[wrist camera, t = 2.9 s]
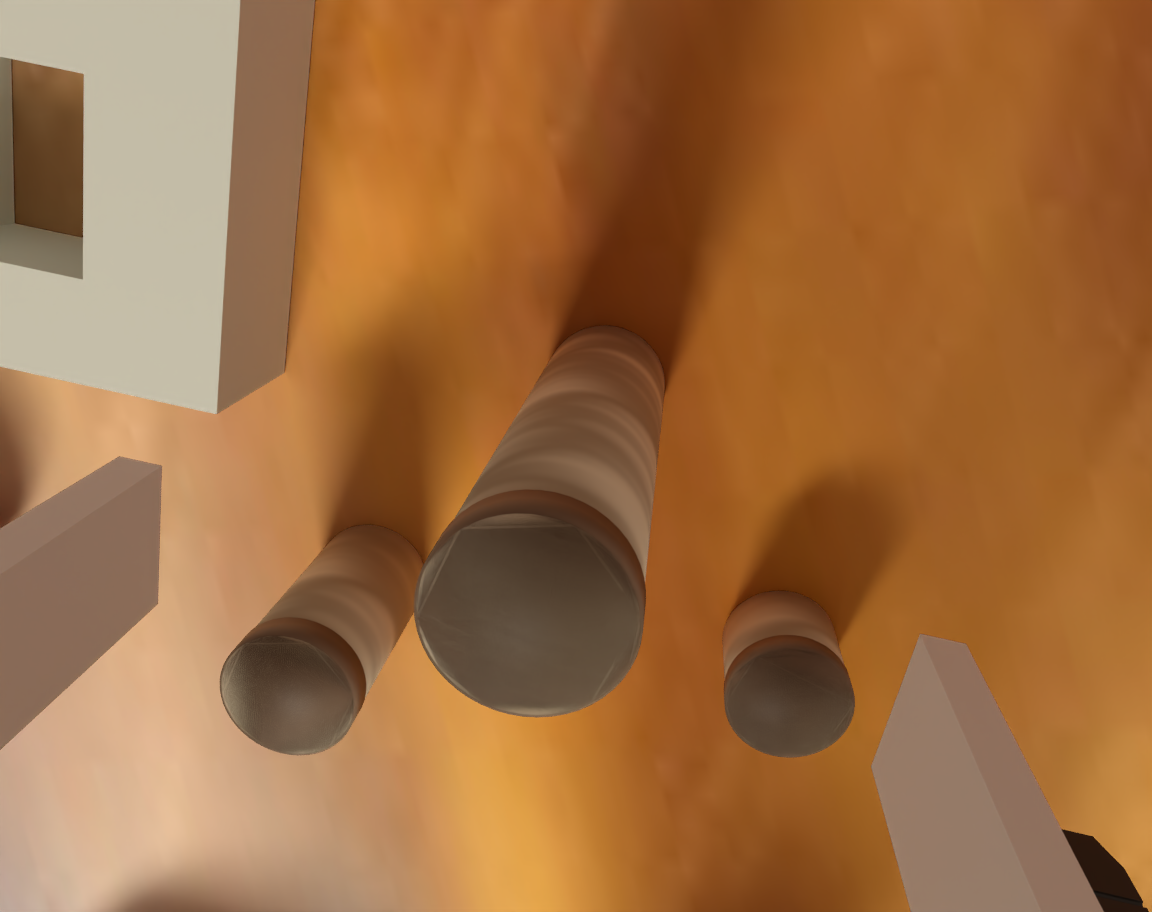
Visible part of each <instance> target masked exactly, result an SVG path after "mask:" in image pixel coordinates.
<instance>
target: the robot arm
mask: <svg viewBox="0 0 1152 912" xmlns="http://www.w3.org/2000/svg"><path fill="white" fill-rule="evenodd" d="M161 480H162V466H161V465H156V464H152V463H147V462H143V461H138V460H133V459H129V458H124V457H120V456H119V457H117V458H116V459H114V460H112V461H111V462H109V463H107V464H106V465H104V466H103V467H101V468H99V469H98V470H96V471H94V472H93V473H91V474H89V475H88V476H86V477H84V478H83V479H81V480H79V481H78V482H76V483H74V484H73V485H71V486H69V487H68V488H66V489H64V490H63V491H61V492H60V493H58V494H56V495H55V496H53V497H51V498H50V499H48V500H46V501H45V502H43V503H41V504H40V505H38V506H36V507H35V508H33V509H31V510H30V511H28V512H26V513H25V514H23V515H22V516H20V517H18V518H17V519H15V520H13V521H12V522H10V523H8V524H7V525H5V526H3V527H2V528H0V750H1V749H2V748H3V747H4V746H5V745H6V744H7V743H8V742H9V741H10V740H11V739H12V738H14V737H15V736H16V735H17V734H18V733H19V732H20V731H21V730H22V729H23V728H24V727H25V726H26V725H28V724H29V723H30V722H31V721H32V720H33V719H34V718H35V717H36V716H37V715H38V714H39V713H41V712H42V711H43V710H44V709H45V708H46V707H47V706H48V705H49V704H50V703H51V702H52V701H53V700H55V699H56V698H57V697H58V696H59V695H60V694H61V693H62V692H63V691H64V690H65V689H66V688H68V687H69V686H70V685H71V684H72V683H73V682H74V681H75V680H76V679H77V678H78V677H79V676H81V675H82V674H83V673H84V672H85V671H86V670H87V669H88V668H89V667H90V666H91V665H92V664H93V663H95V662H96V661H97V660H98V659H99V658H100V657H101V656H102V655H103V654H104V653H105V652H106V651H108V650H109V649H110V648H111V647H112V646H113V645H114V644H115V643H116V642H117V641H118V640H119V639H120V638H122V637H123V636H124V635H125V634H126V633H127V632H128V631H129V630H130V629H131V628H132V627H133V626H135V625H136V624H137V623H138V622H139V621H140V620H141V619H142V618H143V617H144V616H145V615H146V614H147V613H149V612H150V611H151V610H152V609H153V608H154V607H155V606H156V605H157V604H158V582H159V548H160V514H161ZM871 768H872V771H873V775H874V779H875V782H876V786H877V790H878V793H879V797H880V801H881V804H882V808H883V812H884V815H885V819H886V823H887V826H888V830H889V834H890V837H891V841H892V845H893V848H894V852H895V856H896V859H897V863H898V866H899V870H900V874H901V877H902V881H903V885H904V888H905V892H906V896H907V899H908V903H909V907H910V910H911V912H1149V911H1148V909H1147V908H1144V907H1143V905H1142V903H1143V901H1142V899H1141V897H1140V895H1139V894H1138V892H1137V890H1136V888H1135V887H1134V885H1133V883H1132V881H1131V880H1130V878H1129V876H1128V874H1127V873H1126V871H1125V869H1124V868H1123V867H1122V866H1121V865H1120V864H1119V863H1118V862H1117V861H1116V860H1115V859H1114V858H1113V857H1112V856H1111V855H1110V854H1109V853H1108V852H1107V851H1106V850H1105V849H1104V848H1103V847H1102V846H1101V844H1100V843H1099V842H1098V841H1097V840H1096V839H1095V838H1094V837H1093V836H1088V835H1084V834H1080V833H1075V832H1071V831H1067V830H1062V829H1061V828H1060V826H1059V824H1058V822H1057V820H1056V818H1055V816H1054V814H1053V812H1052V810H1051V808H1050V806H1049V804H1048V802H1047V800H1046V798H1045V797H1044V795H1043V793H1042V791H1041V789H1040V787H1039V785H1038V783H1037V781H1036V779H1035V777H1034V775H1033V773H1032V771H1031V769H1030V767H1029V765H1028V763H1027V762H1026V760H1025V758H1024V756H1023V754H1022V752H1021V750H1020V748H1019V746H1018V744H1017V742H1016V740H1015V738H1014V736H1013V734H1012V732H1011V730H1010V728H1009V727H1008V725H1007V723H1006V721H1005V719H1004V717H1003V715H1002V713H1001V711H1000V709H999V707H998V705H997V703H996V701H995V699H994V697H993V695H992V693H991V692H990V690H989V688H988V686H987V684H986V682H985V680H984V678H983V676H982V674H981V672H980V670H979V668H978V666H977V664H976V662H975V660H974V658H973V656H972V655H971V653H970V651H969V649H968V647H967V645H966V644H964V643H960V642H955V641H951V640H946V639H942V638H937V637H933V636H928V635H924V634H920V635H919V638H918V641H917V644H916V646H915V649H914V652H913V654H912V657H911V660H910V663H909V665H908V668H907V671H906V673H905V676H904V679H903V682H902V684H901V687H900V690H899V692H898V695H897V698H896V700H895V703H894V706H893V709H892V711H891V714H890V717H889V719H888V722H887V725H886V728H885V730H884V733H883V736H882V738H881V741H880V744H879V747H878V749H877V752H876V755H875V757H874V760H873V763H872V766H871Z"/></svg>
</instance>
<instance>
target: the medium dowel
mask: <svg viewBox="0 0 1152 912" xmlns="http://www.w3.org/2000/svg"><path fill="white" fill-rule="evenodd" d="M423 565H424V564H423V562H422V559H421V557H420V555H419V554H418V552H417V551H416V549H415V548H414V547H413V546H412V544H411V543H410V542H408V541H407V540H406V539H405V538H404V537H402V536H401V535H400V534H398V533H396V532H394V531H392V530H390V529H388V528H385V527H381V526H376V525H358V526H353V527H350V528H347V529H345V530H343V531H341V532H340V533H339V534H337V535H336V536H335V537H334V538H333V539H332V540H331V541H330V542H329V543H328V544H327V545H326V547H325V548H324V549H323V550H322V551H321V552H320V554H319V555H318V556H317V557H316V558H315V559H314V560H313V562H312V563H311V564H310V565H309V566H308V567H307V569H306V570H305V571H304V572H303V573H302V574H301V575H300V577H299V578H298V579H297V580H296V581H295V582H294V584H293V585H292V586H291V587H290V588H289V589H288V590H287V592H286V593H285V594H284V595H283V596H282V597H281V599H280V600H279V601H278V602H277V603H276V604H275V605H274V607H273V608H272V609H271V610H270V611H269V612H268V613H267V615H266V616H265V617H264V618H263V619H262V620H261V622H260V623H259V624H258V625H257V626H256V627H255V628H254V629H252V630H251V631H250V632H249V633H248V634H247V635H246V636H245V637H244V639H243V640H242V641H241V642H240V643H239V644H238V645H237V647H236V648H235V649H234V650H233V651H232V652H231V654H230V655H229V656H228V658H227V659H226V661H225V663H224V665H223V668H222V671H221V676H220V692H221V697H222V701H223V704H224V706H225V709H226V711H227V713H228V714H229V716H230V718H231V719H232V721H233V722H234V723H235V725H236V726H237V727H238V728H239V729H240V730H241V731H242V732H243V733H244V734H245V735H246V736H248V737H249V738H250V739H252V740H253V741H255V742H256V743H258V744H260V745H261V746H263V747H265V748H268V749H270V750H273V751H276V752H279V753H283V754H289V755H310V754H316V753H319V752H322V751H325V750H327V749H329V748H331V747H332V746H334V745H335V744H337V743H338V742H339V741H340V740H341V739H342V738H343V737H344V736H345V735H346V734H347V732H348V730H349V729H350V727H351V725H352V723H353V722H354V720H355V718H356V716H357V715H358V713H359V711H360V709H361V707H362V705H363V703H364V700H365V697H366V695H367V694H368V692H369V690H370V688H371V687H372V685H373V683H374V681H375V680H376V678H377V676H378V674H379V673H380V671H381V669H382V667H383V666H384V664H385V662H386V660H387V659H388V657H389V655H390V653H391V651H392V650H393V648H394V646H395V644H396V643H397V641H398V639H399V637H400V636H401V634H402V632H403V630H404V629H405V627H406V625H407V623H408V622H409V620H410V618H411V616H412V615H413V613H414V595H415V589H416V584H417V580H418V577H419V575H420V572H421V569H422V567H423Z"/></svg>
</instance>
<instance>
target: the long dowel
mask: <svg viewBox="0 0 1152 912" xmlns="http://www.w3.org/2000/svg"><path fill="white" fill-rule="evenodd" d="M664 392H665V378H664V372H663V368H662V365H661V363H660V360H659V358H658V357H657V355H656V353H655V352H654V350H653V349H652V348H651V346H650V345H649V344H648V343H647V342H646V341H645V340H643V339H642V338H641V337H639V336H638V335H636V334H634V333H633V332H631V331H628V330H626V329H623V328H620V327H615V326H593V327H589V328H585V329H583V330H580V331H578V332H576V333H574V334H573V335H571V336H570V337H568V338H567V339H566V340H565V341H564V342H563V343H562V344H561V345H560V346H559V347H558V348H557V350H556V351H555V353H554V354H553V356H552V358H551V359H550V361H549V363H548V364H547V366H546V368H545V369H544V371H543V373H542V374H541V376H540V377H539V379H538V381H537V382H536V384H535V386H534V387H533V389H532V391H531V392H530V394H529V396H528V397H527V399H526V401H525V402H524V404H523V406H522V407H521V409H520V411H519V412H518V414H517V416H516V417H515V419H514V421H513V422H512V424H511V426H510V427H509V429H508V431H507V432H506V434H505V436H504V437H503V439H502V441H501V442H500V444H499V446H498V447H497V449H496V451H495V452H494V454H493V456H492V457H491V459H490V461H489V462H488V464H487V466H486V467H485V469H484V471H483V472H482V474H481V475H480V477H479V479H478V480H477V482H476V484H475V485H474V487H473V489H472V490H471V492H470V494H469V495H468V497H467V499H466V500H465V502H464V504H463V505H462V507H461V509H460V510H459V512H458V514H457V515H456V517H455V519H454V520H453V521H452V522H451V523H450V524H449V525H448V527H447V528H446V529H445V531H444V532H443V533H442V535H441V537H440V538H439V540H438V542H437V543H436V545H435V546H434V548H433V550H432V551H431V553H430V555H429V556H428V558H427V560H426V562H425V563H424V565H423V567H422V569H421V572H420V575H419V577H418V580H417V584H416V589H415V595H414V616H415V623H416V627H417V632H418V635H419V638H420V640H421V643H422V646H423V648H424V650H425V651H426V653H427V655H428V657H429V659H430V660H431V662H432V663H433V665H434V666H435V667H436V669H437V670H438V671H439V672H440V673H441V675H442V676H443V677H444V678H445V679H446V680H447V681H448V682H449V683H450V684H452V685H453V686H454V687H455V688H456V689H457V690H459V691H460V692H461V693H463V694H464V695H466V696H467V697H469V698H470V699H472V700H474V701H476V702H478V703H480V704H481V705H484V706H486V707H489V708H491V709H494V710H497V711H500V712H503V713H507V714H512V715H517V716H524V717H552V716H558V715H563V714H568V713H571V712H574V711H578V710H580V709H583V708H585V707H587V706H589V705H592V704H593V703H595V702H597V701H598V700H600V699H602V698H603V697H605V696H606V695H607V694H608V693H610V692H611V691H612V690H613V689H614V688H615V687H616V686H617V685H618V684H619V683H620V682H621V681H622V680H623V679H624V677H625V676H626V674H627V673H628V671H629V670H630V669H631V667H632V665H633V663H634V661H635V659H636V657H637V654H638V651H639V647H640V644H641V639H642V633H643V624H644V614H645V604H646V589H645V577H646V567H647V557H648V548H649V538H650V528H651V519H652V509H653V499H654V489H655V480H656V470H657V460H658V450H659V441H660V431H661V421H662V411H663V402H664Z"/></svg>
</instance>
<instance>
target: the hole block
mask: <svg viewBox="0 0 1152 912" xmlns="http://www.w3.org/2000/svg"><path fill="white" fill-rule="evenodd" d="M314 7H315V0H0V367H4V368H9V369H13V370H18V371H22V372H27V373H32V374H36V375H41V376H45V377H50V378H54V379H59V380H63V381H68V382H73V383H77V384H82V385H86V386H91V387H95V388H100V389H104V390H109V391H113V392H118V393H123V394H127V395H132V396H136V397H141V398H145V399H150V400H154V401H159V402H164V403H168V404H173V405H177V406H182V407H186V408H191V409H195V410H200V411H204V412H209V413H214V414H218V413H219V412H221V411H223V410H224V409H226V408H228V407H229V406H231V405H232V404H234V403H236V402H237V401H239V400H241V399H242V398H244V397H246V396H247V395H249V394H250V393H252V392H254V391H255V390H257V389H259V388H260V387H262V386H264V385H265V384H267V383H268V382H270V381H272V380H273V379H275V378H277V377H278V376H280V375H282V374H283V373H284V371H285V359H286V347H287V334H288V322H289V310H290V298H291V286H292V274H293V262H294V249H295V237H296V225H297V213H298V201H299V189H300V177H301V164H302V152H303V140H304V128H305V116H306V104H307V92H308V80H309V67H310V55H311V43H312V31H313V19H314ZM11 59H14V60H19V61H24V62H29V63H34V64H38V65H43V66H48V67H53V68H58V69H63V70H68V71H73V72H78V73H82V74H84V143H83V238H81V237H77V236H72V235H67V234H63V233H58V232H53V231H48V230H44V229H39V228H34V227H30V226H25V225H20V224H16V223H15V217H14V167H13V117H12V67H11Z"/></svg>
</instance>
